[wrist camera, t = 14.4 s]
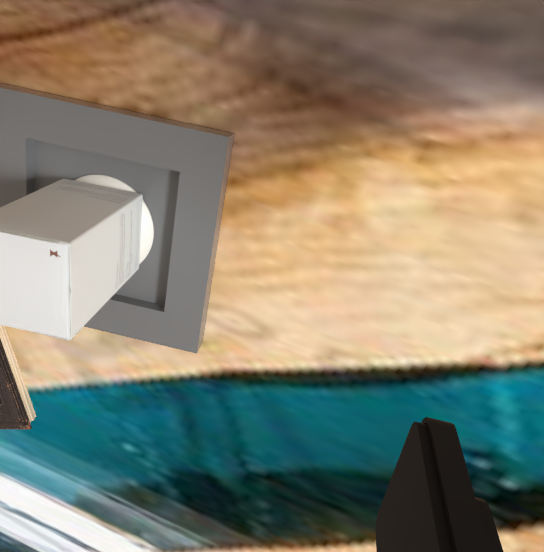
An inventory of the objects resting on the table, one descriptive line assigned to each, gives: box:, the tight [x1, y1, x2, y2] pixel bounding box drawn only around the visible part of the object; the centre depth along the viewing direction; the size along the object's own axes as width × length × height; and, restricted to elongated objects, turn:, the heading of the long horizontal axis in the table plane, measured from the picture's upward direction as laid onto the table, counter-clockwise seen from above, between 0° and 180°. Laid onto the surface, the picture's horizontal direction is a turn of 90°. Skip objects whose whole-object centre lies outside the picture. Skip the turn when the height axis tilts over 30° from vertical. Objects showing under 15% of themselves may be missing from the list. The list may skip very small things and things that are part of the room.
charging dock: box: [0, 83, 234, 353], centre depth 45 cm, size 20×20×2 cm
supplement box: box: [0, 179, 143, 340], centre depth 40 cm, size 7×7×13 cm
